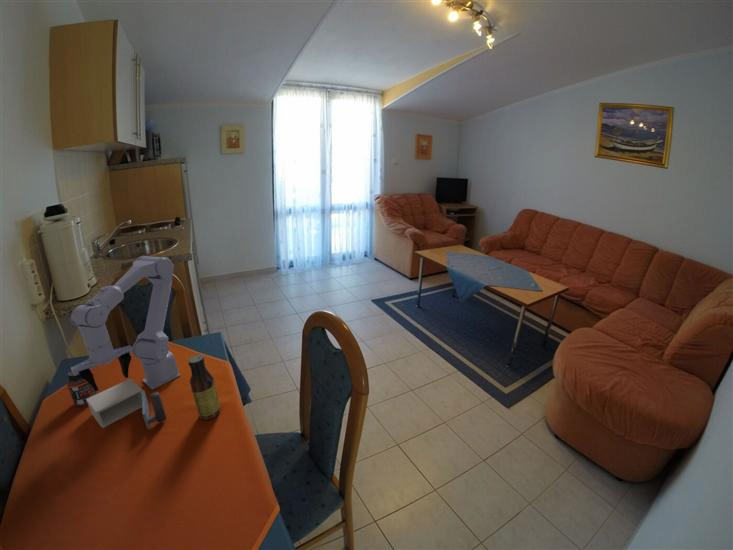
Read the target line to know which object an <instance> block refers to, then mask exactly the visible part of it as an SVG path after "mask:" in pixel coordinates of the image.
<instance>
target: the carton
mask: <svg viewBox="0 0 733 550" xmlns="http://www.w3.org/2000/svg"><path fill="white" fill-rule="evenodd" d="M142 390H143V388H142V387H140V386H139V385H138V384H137V383H136V382H135V381H134V379H132V378H127V380H124V381H122V382H119V383H118V384H115V385H114V386H112V387H109V388H107V389H105V390H103V391H101V392H99V393H98V392H97V394H96V395H94V396H92V397H90V398H87V399H86V400H87V403H88V405H87V406H88V407H89V411H90V413H91V415H92V417H93V418H94V419H95V421H96V422H97V424H99V426H100V427H101V429H104V428H106V427H107V426H109V425H111V424H114V423H115V422H117V421H119V420H121V419H122V418H124V417H127V416H128V415H130V414H132V413H134V412H136V411H137V410H139V409H142Z"/></svg>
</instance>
